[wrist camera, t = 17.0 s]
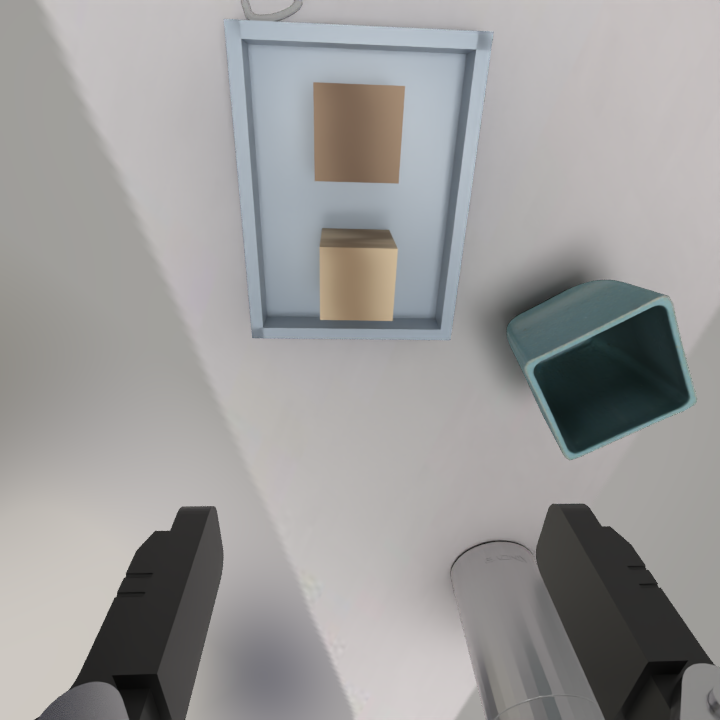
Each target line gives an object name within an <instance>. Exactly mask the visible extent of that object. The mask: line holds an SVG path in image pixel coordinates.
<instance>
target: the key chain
mask: <svg viewBox="0 0 720 720" xmlns="http://www.w3.org/2000/svg"><path fill="white" fill-rule="evenodd" d="M241 3H242V7H243V10H244V13H245V16H246V18H247V19H248V20H256V21H280V20H282V19H285V18H287V17H289V16H290V15H292V14H294V13H295V12H297V11H298V10H299V9H300V8H301V6H302V0H294V3H293V5H292V6H290V7H289V8H287V9H285V10H282V11H280V12H277V13H273V14H267V15H256V14H254V13H253V12H252V11H251V8H250V4H249V1H248V0H241Z"/></svg>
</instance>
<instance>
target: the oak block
mask: <svg viewBox="0 0 720 720" xmlns="http://www.w3.org/2000/svg"><path fill="white" fill-rule="evenodd" d="M319 248H320V320H359V321H393V309H394V296H395V282H396V269H397V255H398V248H397V246H396V243H395V241H394V239H393V237H392V235H391V233H390V230H376V229H337V228H322V233H321V240H320V247H319Z"/></svg>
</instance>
